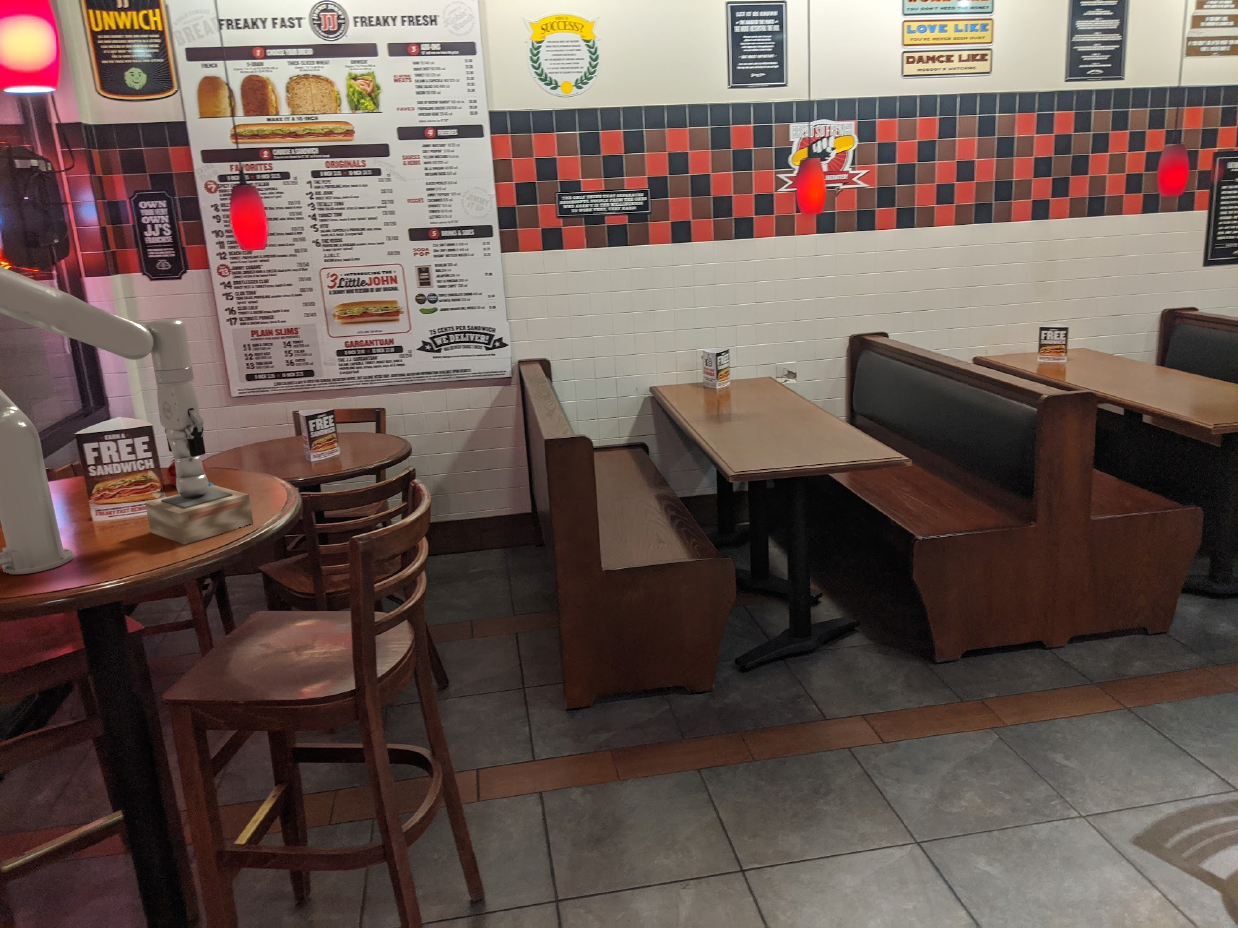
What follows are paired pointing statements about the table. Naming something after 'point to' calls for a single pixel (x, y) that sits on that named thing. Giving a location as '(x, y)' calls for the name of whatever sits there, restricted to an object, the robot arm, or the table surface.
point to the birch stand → (199, 514)
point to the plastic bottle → (187, 466)
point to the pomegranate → (172, 472)
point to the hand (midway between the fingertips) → (187, 452)
